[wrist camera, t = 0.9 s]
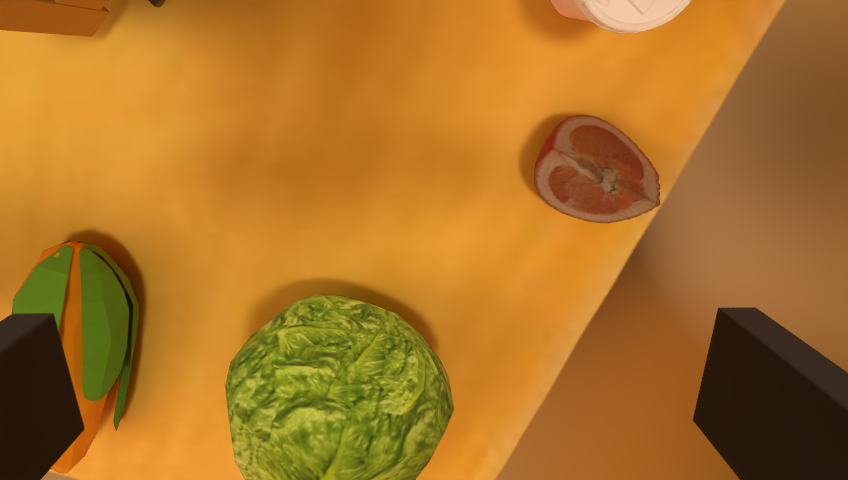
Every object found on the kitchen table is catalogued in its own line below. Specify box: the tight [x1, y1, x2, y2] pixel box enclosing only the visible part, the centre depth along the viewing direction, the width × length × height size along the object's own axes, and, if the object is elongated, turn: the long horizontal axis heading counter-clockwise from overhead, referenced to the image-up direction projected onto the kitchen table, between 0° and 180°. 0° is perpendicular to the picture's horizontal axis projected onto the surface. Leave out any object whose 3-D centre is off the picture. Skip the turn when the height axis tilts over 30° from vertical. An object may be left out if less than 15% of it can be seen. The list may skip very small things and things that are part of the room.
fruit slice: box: [534, 115, 660, 223], centre depth 34 cm, size 8×7×5 cm
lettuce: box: [225, 295, 454, 480], centre depth 37 cm, size 14×23×14 cm
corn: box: [12, 240, 139, 473], centre depth 36 cm, size 7×8×20 cm
